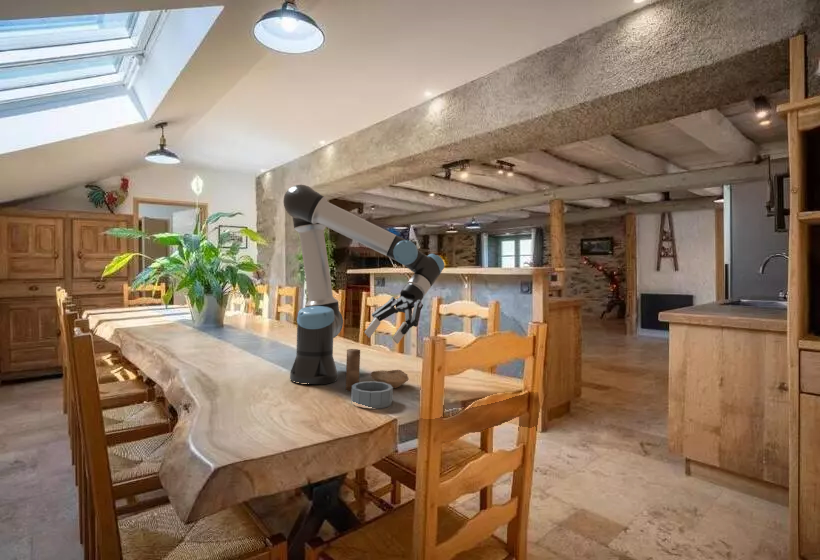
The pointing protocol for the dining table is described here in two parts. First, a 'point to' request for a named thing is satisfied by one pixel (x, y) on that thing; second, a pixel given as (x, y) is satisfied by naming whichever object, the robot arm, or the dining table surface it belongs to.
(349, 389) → the brown cylinder
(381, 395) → the grey plastic ring
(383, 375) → the pottery oil lamp
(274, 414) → the dining table surface
